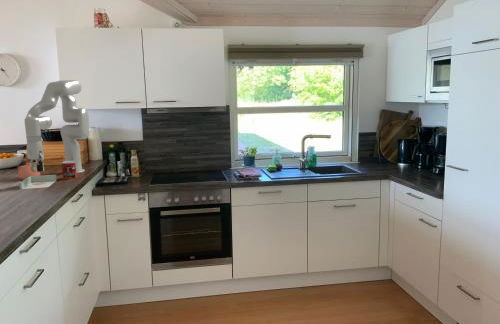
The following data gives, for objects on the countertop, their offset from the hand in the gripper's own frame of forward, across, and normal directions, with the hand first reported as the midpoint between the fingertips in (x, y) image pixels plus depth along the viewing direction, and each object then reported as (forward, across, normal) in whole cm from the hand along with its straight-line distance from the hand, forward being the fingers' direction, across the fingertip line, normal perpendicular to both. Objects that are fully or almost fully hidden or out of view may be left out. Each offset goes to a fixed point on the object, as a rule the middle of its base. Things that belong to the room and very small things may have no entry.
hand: (37, 170), depth 236 cm
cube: (0, 0, 0) cm, 0 cm away
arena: (+9, +1, -1) cm, 9 cm away
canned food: (+9, +1, +19) cm, 21 cm away
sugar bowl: (+9, -25, +7) cm, 27 cm away
